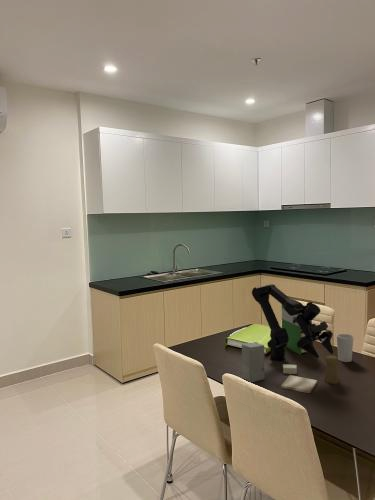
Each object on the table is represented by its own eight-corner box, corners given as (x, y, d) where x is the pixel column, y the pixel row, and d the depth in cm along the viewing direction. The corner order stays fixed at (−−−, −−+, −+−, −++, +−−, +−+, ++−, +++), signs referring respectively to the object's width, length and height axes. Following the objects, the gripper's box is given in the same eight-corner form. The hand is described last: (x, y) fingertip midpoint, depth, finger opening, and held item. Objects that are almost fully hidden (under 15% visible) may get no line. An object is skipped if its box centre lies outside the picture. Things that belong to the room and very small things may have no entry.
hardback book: (311, 352, 210) (311, 308, 208) (299, 354, 208) (299, 309, 205) (293, 343, 227) (293, 301, 224) (282, 344, 224) (281, 302, 222)
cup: (355, 362, 194) (355, 338, 193) (337, 362, 196) (337, 338, 195) (351, 357, 202) (351, 334, 201) (335, 356, 204) (335, 333, 203)
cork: (322, 378, 177) (322, 354, 176) (335, 377, 178) (335, 353, 177) (328, 384, 171) (328, 359, 170) (341, 383, 172) (341, 358, 171)
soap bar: (283, 373, 184) (283, 367, 184) (283, 370, 188) (283, 364, 188) (296, 374, 183) (296, 368, 183) (296, 371, 187) (296, 364, 187)
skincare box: (250, 383, 174) (249, 348, 173) (241, 377, 181) (240, 343, 179) (265, 379, 178) (265, 344, 177) (256, 373, 184) (255, 340, 183)
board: (281, 387, 169) (281, 385, 169) (290, 377, 179) (290, 375, 179) (309, 393, 163) (309, 391, 163) (317, 382, 173) (317, 380, 173)
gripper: (301, 319, 175) (321, 350, 166) (329, 313, 184) (350, 342, 176) (288, 332, 182) (307, 363, 174) (316, 326, 192) (335, 354, 183)
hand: (325, 355), depth 177 cm, fingers open, 9 cm apart
